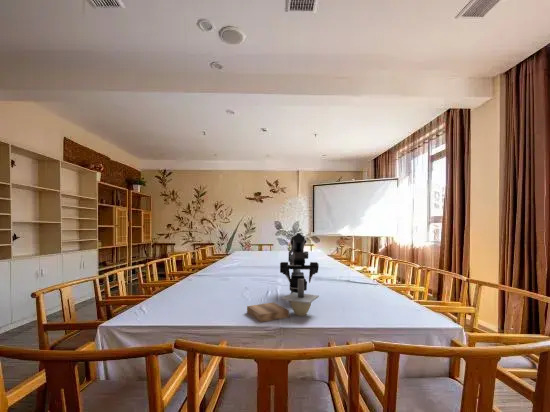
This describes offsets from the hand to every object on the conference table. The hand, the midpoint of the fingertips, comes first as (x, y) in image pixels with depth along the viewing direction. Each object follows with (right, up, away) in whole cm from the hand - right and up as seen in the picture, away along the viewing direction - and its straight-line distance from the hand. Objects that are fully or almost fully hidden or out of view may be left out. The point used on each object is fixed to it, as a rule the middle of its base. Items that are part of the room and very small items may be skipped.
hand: (299, 282), depth 136 cm
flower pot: (0, -14, -4) cm, 14 cm away
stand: (-15, -13, -6) cm, 21 cm away
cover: (0, -6, -4) cm, 7 cm away
